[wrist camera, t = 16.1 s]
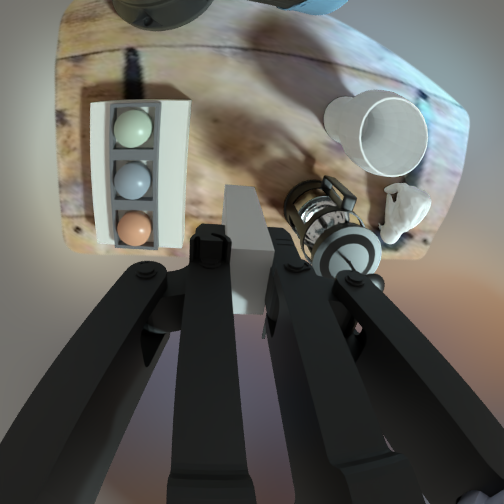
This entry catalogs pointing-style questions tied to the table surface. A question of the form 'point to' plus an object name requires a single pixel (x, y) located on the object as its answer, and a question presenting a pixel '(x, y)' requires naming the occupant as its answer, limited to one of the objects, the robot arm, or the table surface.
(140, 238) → the button terracotta
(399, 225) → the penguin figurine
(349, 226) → the french press
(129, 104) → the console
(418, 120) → the cup
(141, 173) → the button slate
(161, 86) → the table surface
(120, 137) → the button sage
